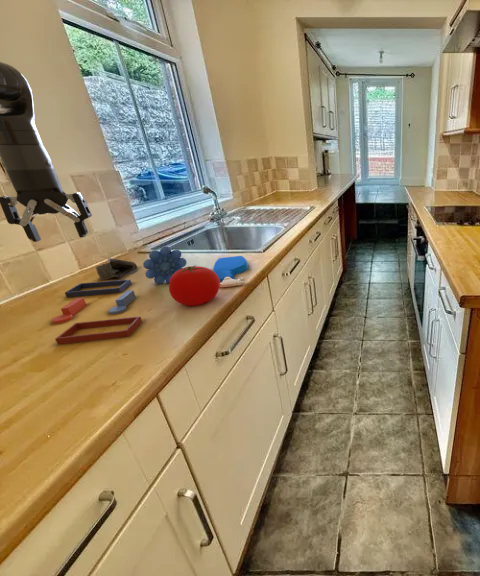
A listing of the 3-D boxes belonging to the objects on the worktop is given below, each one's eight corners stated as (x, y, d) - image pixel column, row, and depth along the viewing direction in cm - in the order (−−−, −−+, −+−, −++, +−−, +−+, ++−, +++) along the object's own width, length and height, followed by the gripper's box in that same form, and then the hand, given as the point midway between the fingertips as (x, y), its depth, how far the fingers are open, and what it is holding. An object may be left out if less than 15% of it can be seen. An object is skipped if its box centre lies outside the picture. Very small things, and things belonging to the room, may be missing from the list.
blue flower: (192, 275, 107) (183, 241, 102) (191, 283, 101) (181, 246, 97) (151, 281, 103) (140, 245, 98) (147, 289, 97) (135, 251, 92)
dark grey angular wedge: (118, 270, 113) (86, 255, 102) (138, 263, 114) (107, 248, 102) (119, 294, 110) (86, 281, 99) (139, 287, 110) (108, 274, 99)
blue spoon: (123, 314, 82) (119, 305, 81) (107, 316, 81) (103, 306, 80) (140, 298, 91) (137, 289, 90) (126, 299, 90) (123, 291, 89)
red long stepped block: (67, 324, 78) (63, 314, 77) (50, 326, 77) (45, 315, 76) (91, 306, 87) (87, 296, 86) (76, 307, 86) (72, 298, 85)
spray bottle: (213, 258, 115) (209, 283, 94) (246, 254, 118) (248, 278, 98) (215, 266, 116) (211, 292, 95) (247, 262, 120) (250, 286, 99)
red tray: (58, 346, 69) (54, 338, 68) (78, 330, 75) (75, 322, 75) (129, 338, 72) (126, 330, 71) (143, 323, 78) (140, 316, 77)
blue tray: (67, 299, 91) (64, 292, 90) (82, 289, 97) (79, 283, 97) (121, 294, 94) (118, 288, 93) (132, 285, 100) (130, 279, 99)
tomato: (178, 297, 92) (168, 263, 87) (224, 291, 96) (217, 257, 91) (170, 314, 82) (158, 277, 78) (221, 307, 86) (213, 270, 82)
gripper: (77, 165, 76) (102, 232, 83) (-5, 167, 70) (28, 238, 77) (64, 167, 70) (92, 239, 76) (-27, 169, 64) (12, 246, 71)
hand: (60, 238), depth 77 cm, fingers open, 8 cm apart
